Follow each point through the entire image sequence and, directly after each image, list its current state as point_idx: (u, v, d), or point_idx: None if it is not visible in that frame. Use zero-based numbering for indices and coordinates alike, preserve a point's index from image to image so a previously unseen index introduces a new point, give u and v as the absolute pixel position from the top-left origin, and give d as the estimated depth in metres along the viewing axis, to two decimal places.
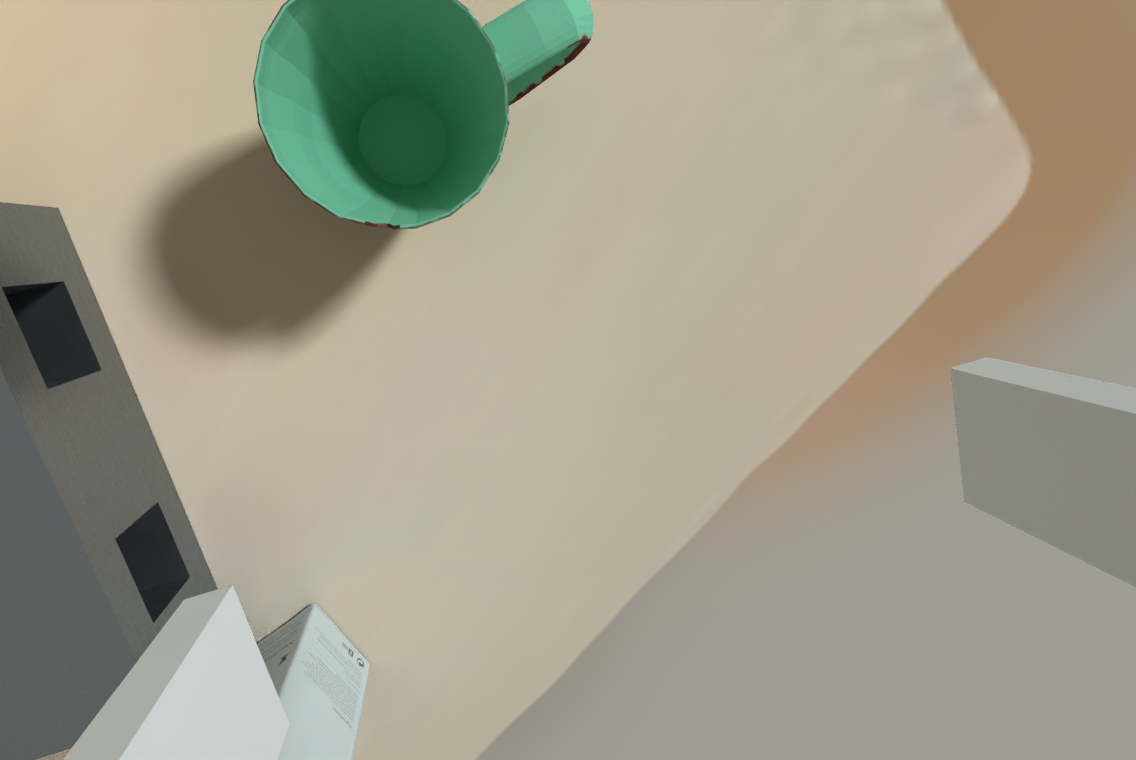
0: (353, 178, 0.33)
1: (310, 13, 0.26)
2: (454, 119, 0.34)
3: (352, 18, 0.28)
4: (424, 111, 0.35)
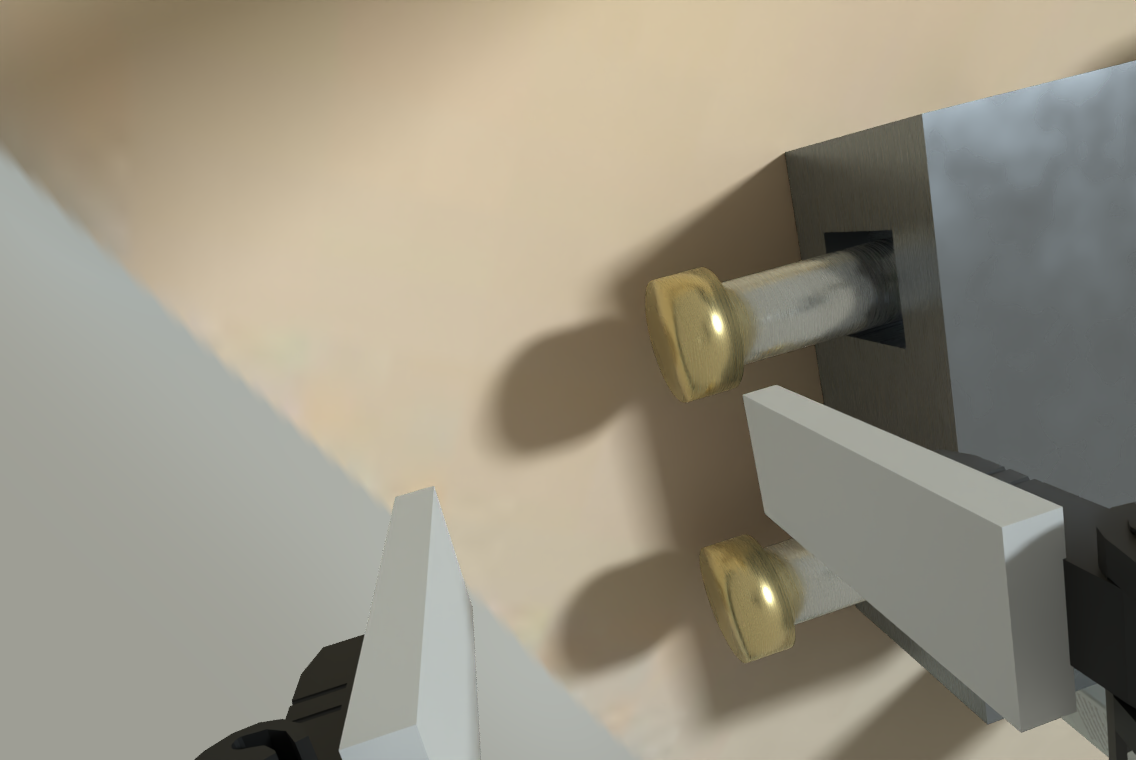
0: None
1: None
2: None
3: None
4: None
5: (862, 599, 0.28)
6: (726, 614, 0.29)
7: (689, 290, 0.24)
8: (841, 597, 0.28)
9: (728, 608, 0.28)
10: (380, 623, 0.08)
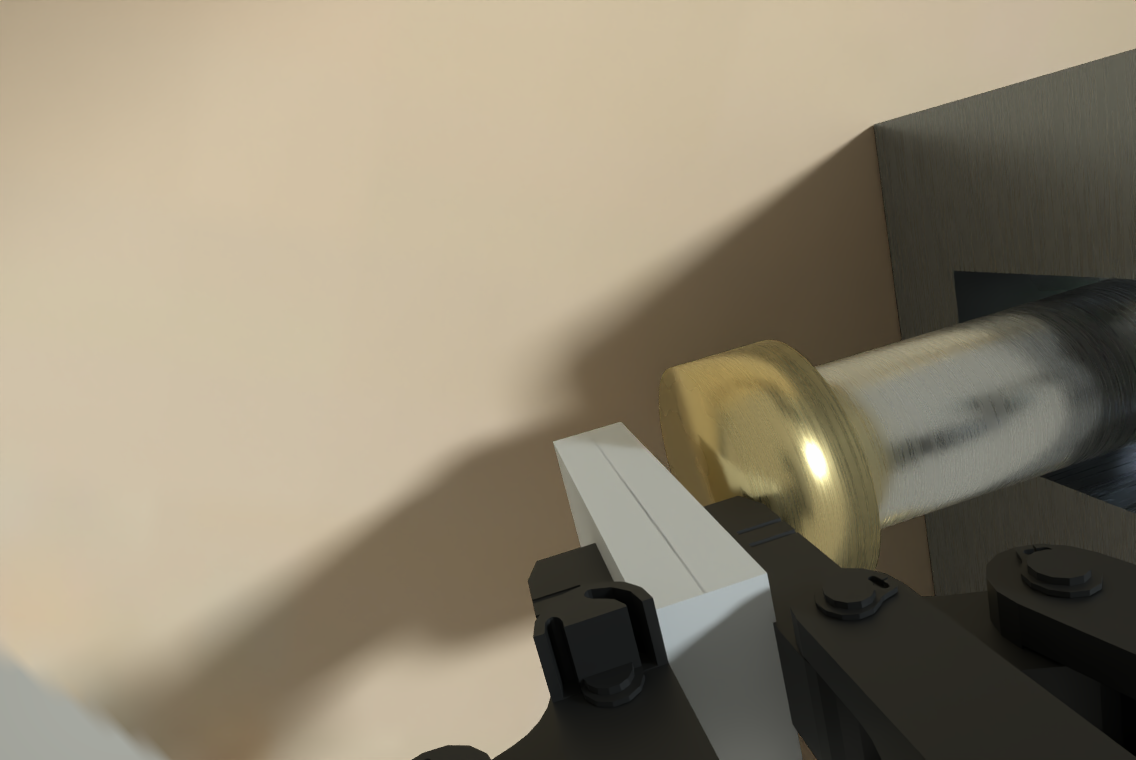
0: None
1: None
2: None
3: None
4: None
5: None
6: None
7: (758, 402, 0.11)
8: None
9: None
10: (613, 529, 0.09)
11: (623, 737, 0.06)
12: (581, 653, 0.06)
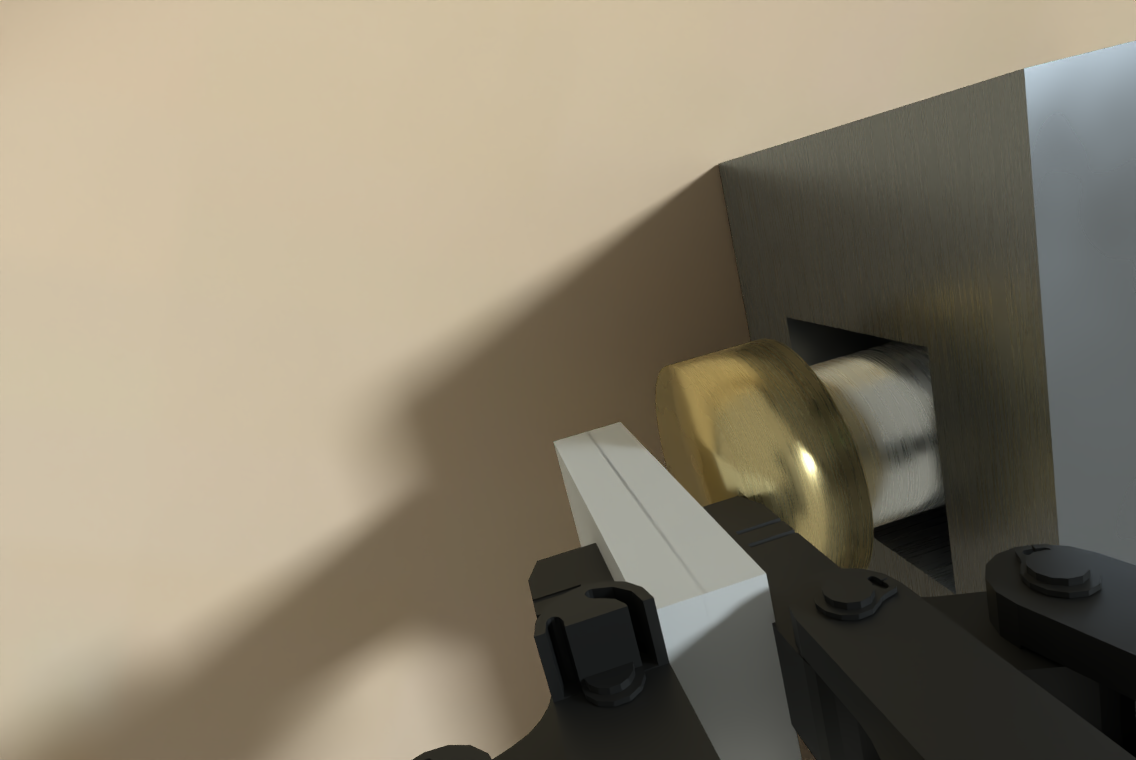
0: None
1: None
2: None
3: None
4: None
5: None
6: None
7: (753, 400, 0.11)
8: None
9: None
10: (613, 529, 0.09)
11: (623, 737, 0.06)
12: (581, 653, 0.06)
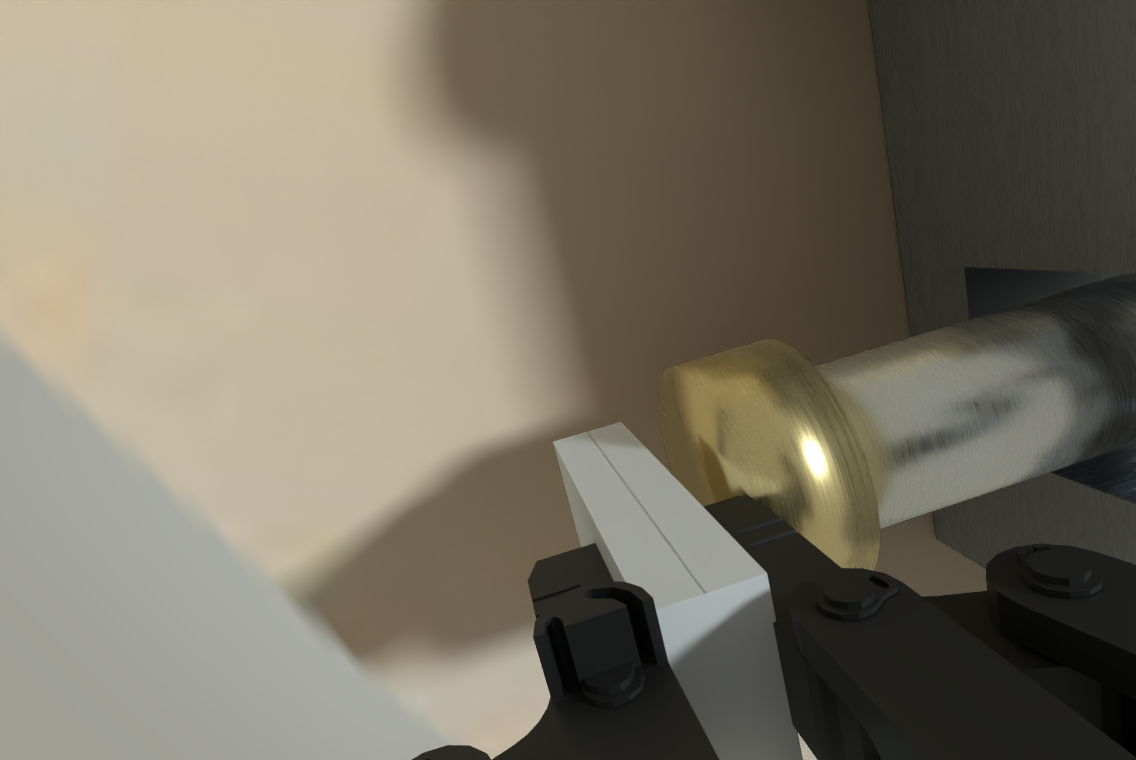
0: None
1: None
2: None
3: None
4: None
5: (1024, 473, 0.12)
6: None
7: None
8: (982, 463, 0.12)
9: (717, 493, 0.12)
10: (613, 529, 0.09)
11: (623, 738, 0.06)
12: (581, 654, 0.06)
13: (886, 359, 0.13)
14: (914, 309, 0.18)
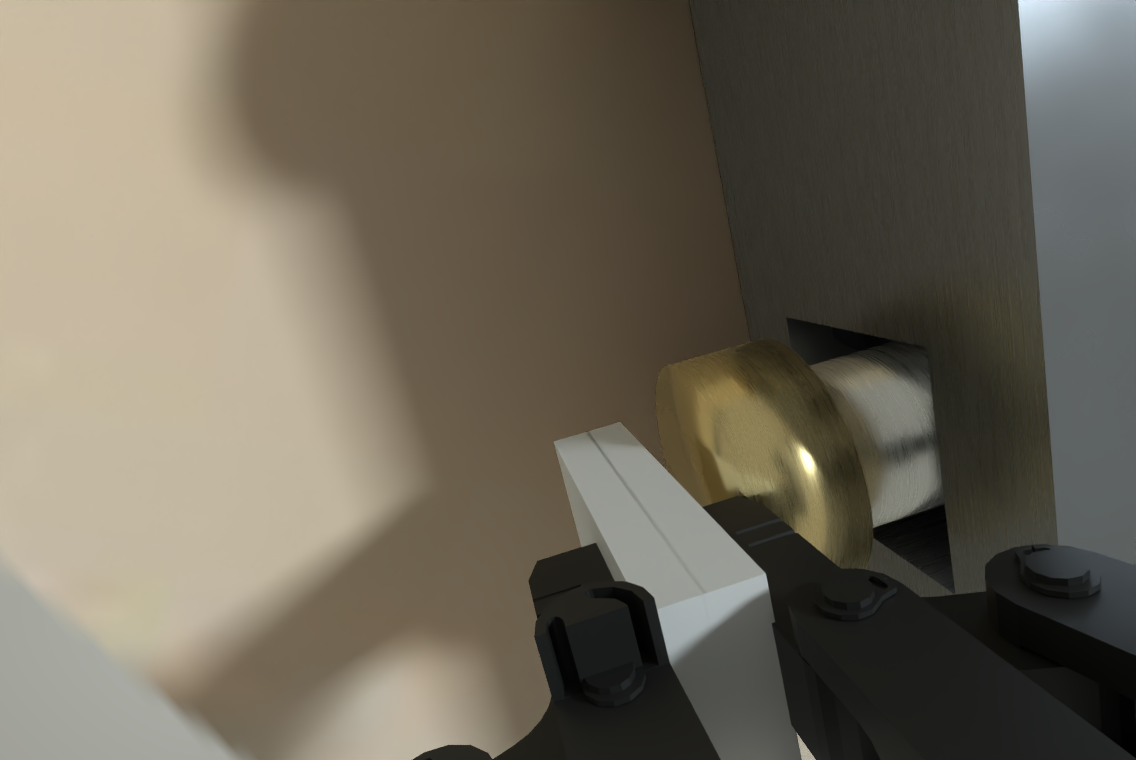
0: None
1: None
2: None
3: None
4: None
5: None
6: None
7: None
8: None
9: (712, 491, 0.12)
10: (613, 529, 0.09)
11: (624, 736, 0.06)
12: (582, 653, 0.06)
13: (881, 359, 0.13)
14: None
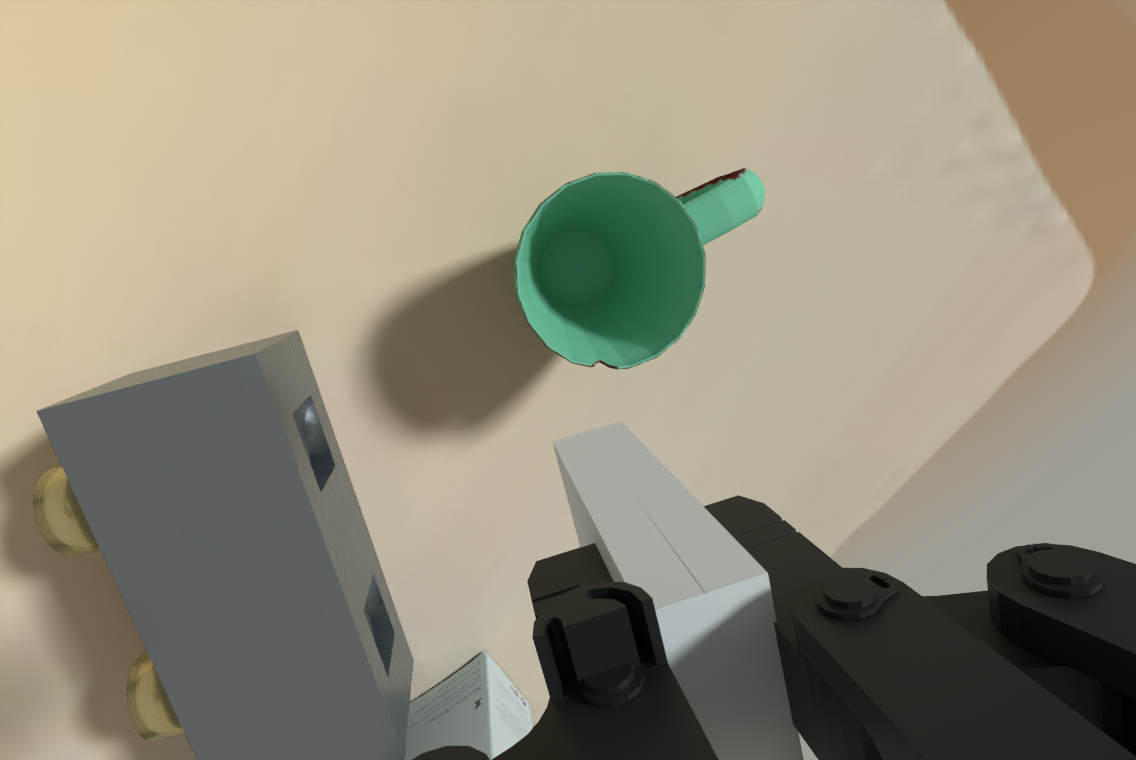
0: (545, 306, 0.40)
1: (551, 201, 0.33)
2: (624, 253, 0.41)
3: (572, 195, 0.35)
4: (595, 243, 0.42)
5: None
6: None
7: (50, 483, 0.34)
8: None
9: None
10: (612, 530, 0.09)
11: (622, 737, 0.06)
12: (580, 653, 0.06)
13: None
14: None
